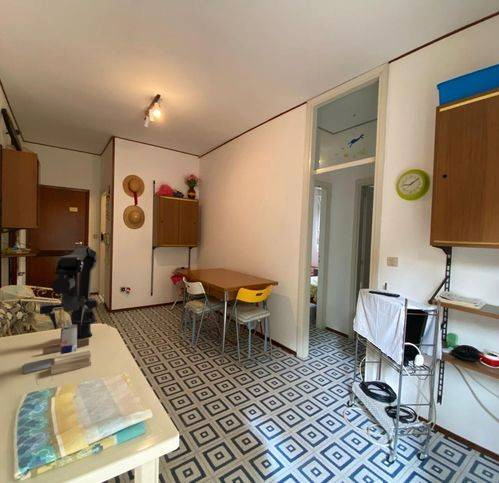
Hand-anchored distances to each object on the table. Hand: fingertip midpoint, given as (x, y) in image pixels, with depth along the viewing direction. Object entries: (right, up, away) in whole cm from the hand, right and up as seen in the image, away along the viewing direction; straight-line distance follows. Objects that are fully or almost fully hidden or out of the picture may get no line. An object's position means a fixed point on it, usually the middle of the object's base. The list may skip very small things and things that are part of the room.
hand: (69, 327), depth 106 cm
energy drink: (-1, -12, 0) cm, 12 cm away
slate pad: (-6, -12, -8) cm, 16 cm away
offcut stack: (+6, -12, -7) cm, 16 cm away
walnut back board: (-6, -12, +7) cm, 14 cm away
